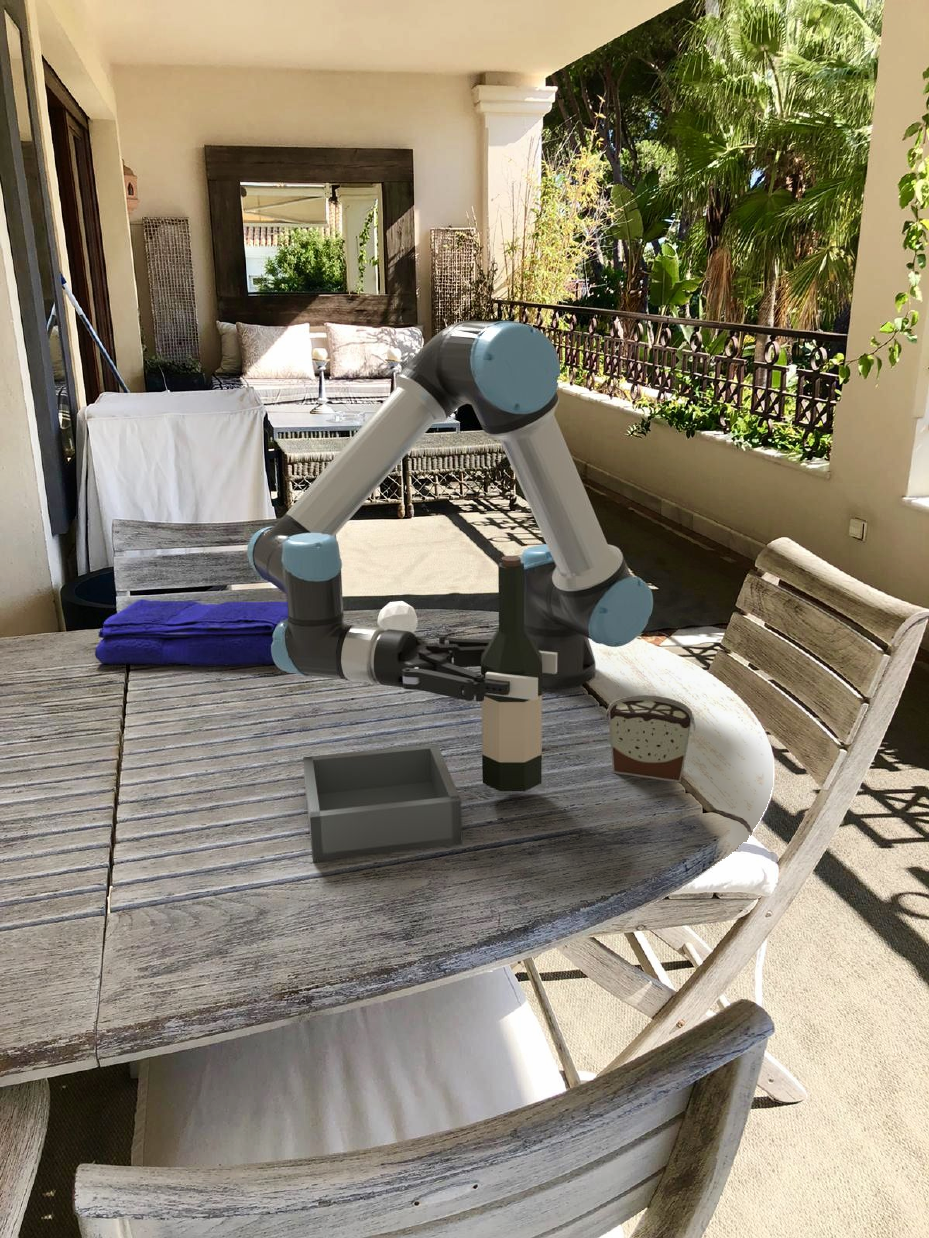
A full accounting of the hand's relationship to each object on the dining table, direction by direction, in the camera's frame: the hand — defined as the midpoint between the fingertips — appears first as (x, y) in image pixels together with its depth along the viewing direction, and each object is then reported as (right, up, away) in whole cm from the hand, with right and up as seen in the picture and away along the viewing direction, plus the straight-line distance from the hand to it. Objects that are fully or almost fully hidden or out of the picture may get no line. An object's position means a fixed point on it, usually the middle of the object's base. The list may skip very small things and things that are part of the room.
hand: (546, 675), depth 123 cm
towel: (-59, +2, +66) cm, 89 cm away
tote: (-21, -19, +2) cm, 28 cm away
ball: (-23, +3, +68) cm, 72 cm away
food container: (+16, -14, +15) cm, 26 cm away
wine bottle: (-4, -14, +6) cm, 16 cm away
